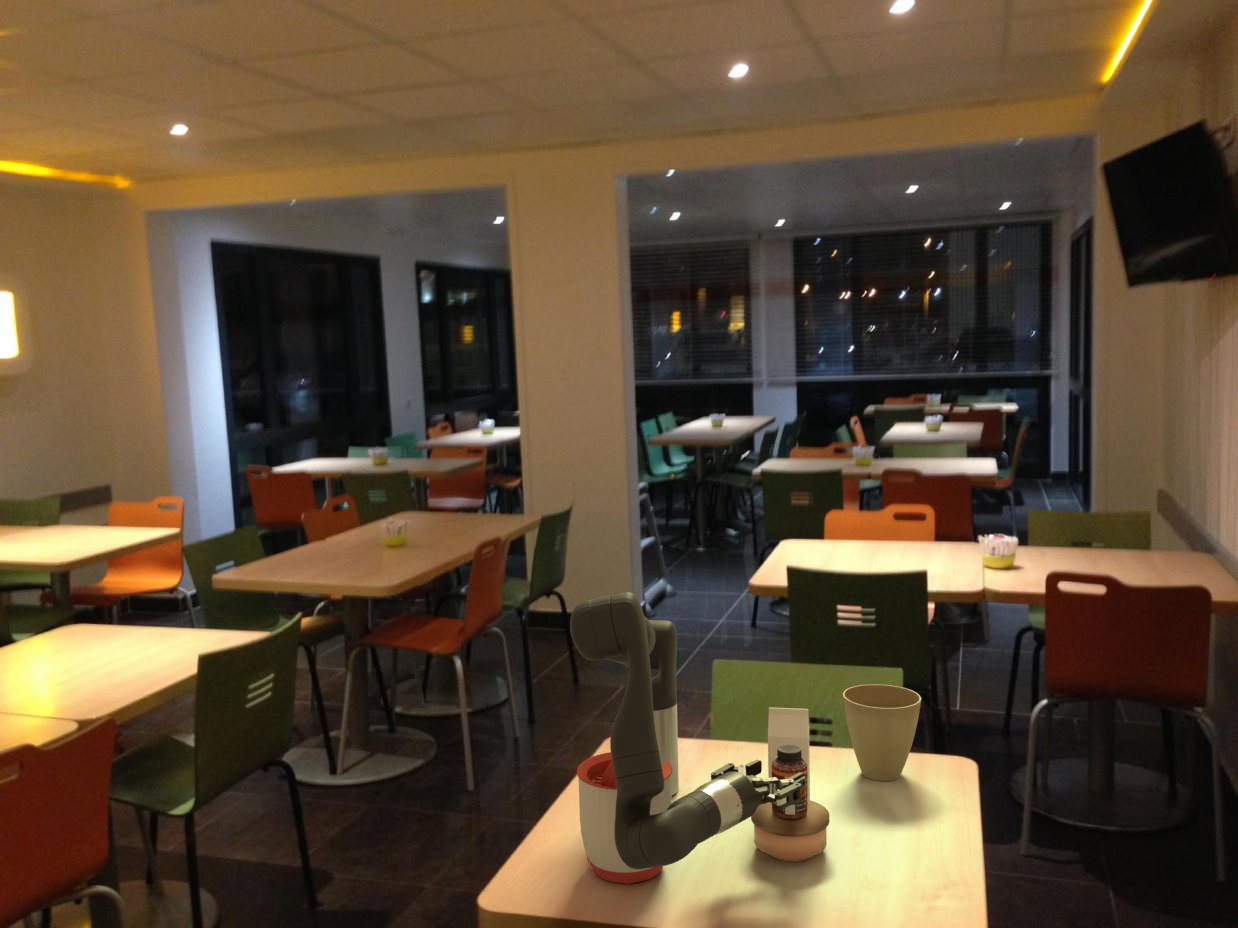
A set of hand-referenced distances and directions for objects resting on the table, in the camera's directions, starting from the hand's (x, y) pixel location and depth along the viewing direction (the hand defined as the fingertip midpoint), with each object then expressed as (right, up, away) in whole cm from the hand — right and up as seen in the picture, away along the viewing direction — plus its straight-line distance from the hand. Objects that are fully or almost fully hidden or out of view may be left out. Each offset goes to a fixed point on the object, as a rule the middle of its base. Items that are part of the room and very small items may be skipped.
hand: (781, 771), depth 177 cm
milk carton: (+5, -13, +20) cm, 24 cm away
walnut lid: (+2, -9, +3) cm, 9 cm away
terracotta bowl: (+2, -14, +4) cm, 15 cm away
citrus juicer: (-25, -16, 0) cm, 29 cm away
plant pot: (+25, -10, +34) cm, 44 cm away
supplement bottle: (+2, -8, +3) cm, 9 cm away
